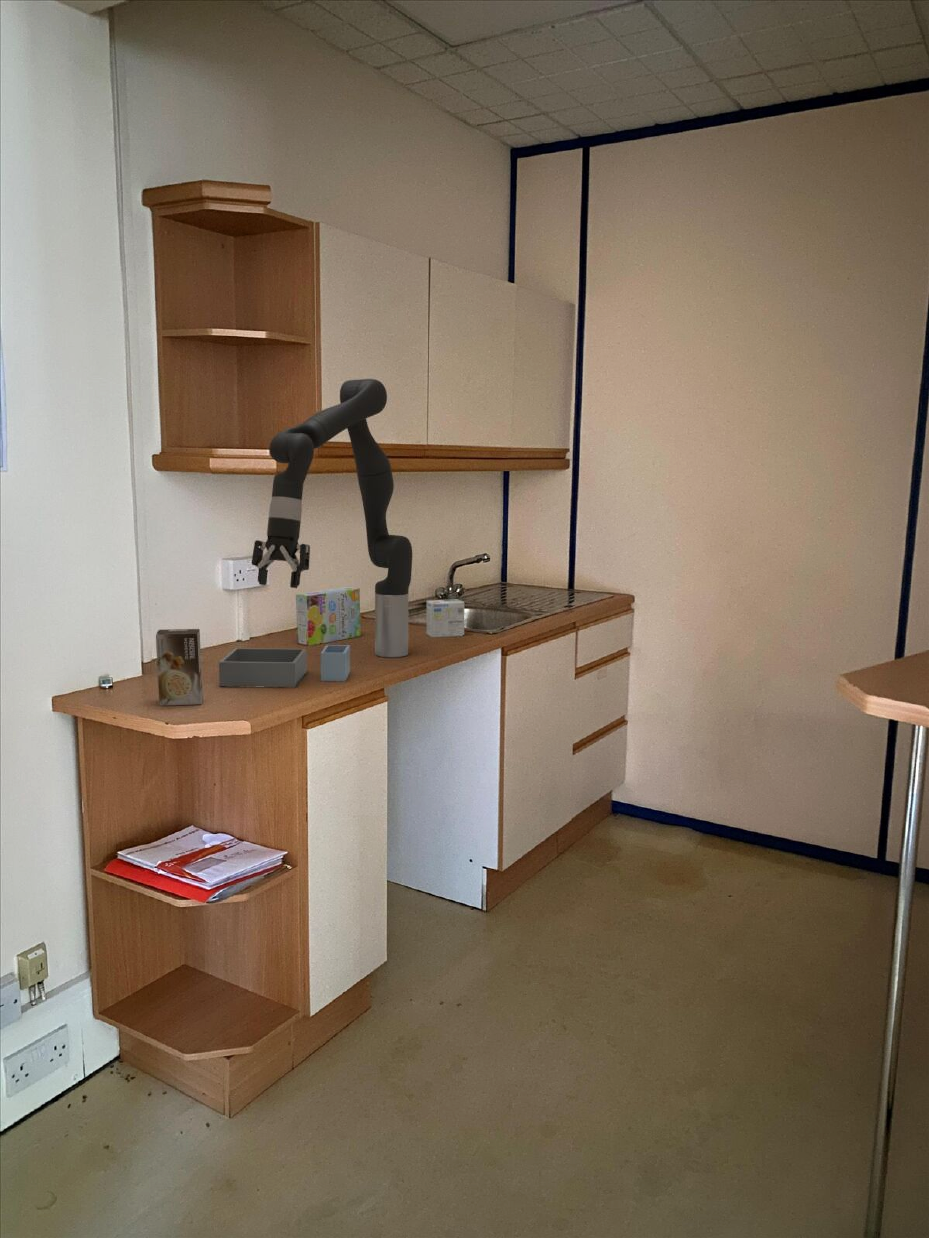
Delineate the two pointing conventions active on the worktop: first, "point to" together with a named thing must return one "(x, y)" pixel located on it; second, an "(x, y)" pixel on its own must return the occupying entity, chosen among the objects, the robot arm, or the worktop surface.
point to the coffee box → (179, 667)
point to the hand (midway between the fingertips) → (278, 586)
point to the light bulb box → (445, 618)
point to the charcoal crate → (263, 667)
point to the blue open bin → (335, 663)
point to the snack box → (328, 615)
